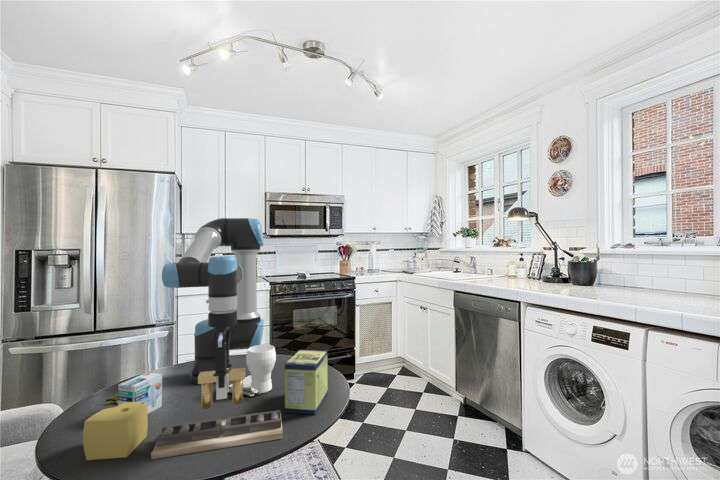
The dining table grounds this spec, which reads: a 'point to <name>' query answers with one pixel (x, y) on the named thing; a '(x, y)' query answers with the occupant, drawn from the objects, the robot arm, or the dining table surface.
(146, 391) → the light bulb box
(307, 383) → the protein box
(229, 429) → the chain jig
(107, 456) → the cheese
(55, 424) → the dining table surface
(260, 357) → the cup
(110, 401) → the red green plant
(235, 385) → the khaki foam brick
